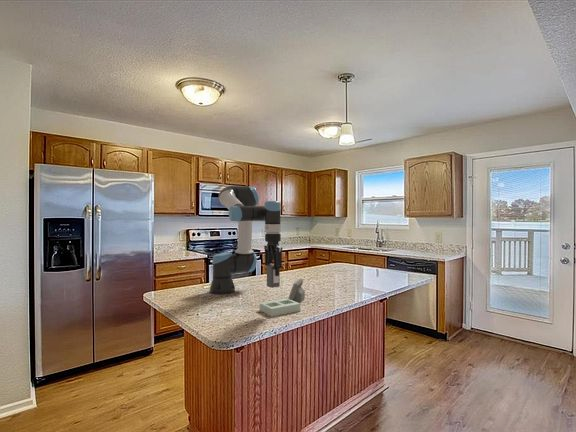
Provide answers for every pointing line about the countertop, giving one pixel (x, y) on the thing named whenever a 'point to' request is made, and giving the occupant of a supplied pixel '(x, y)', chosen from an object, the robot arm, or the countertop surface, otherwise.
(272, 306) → the outlet plate
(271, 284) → the charger
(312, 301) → the countertop surface
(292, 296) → the digital clock
